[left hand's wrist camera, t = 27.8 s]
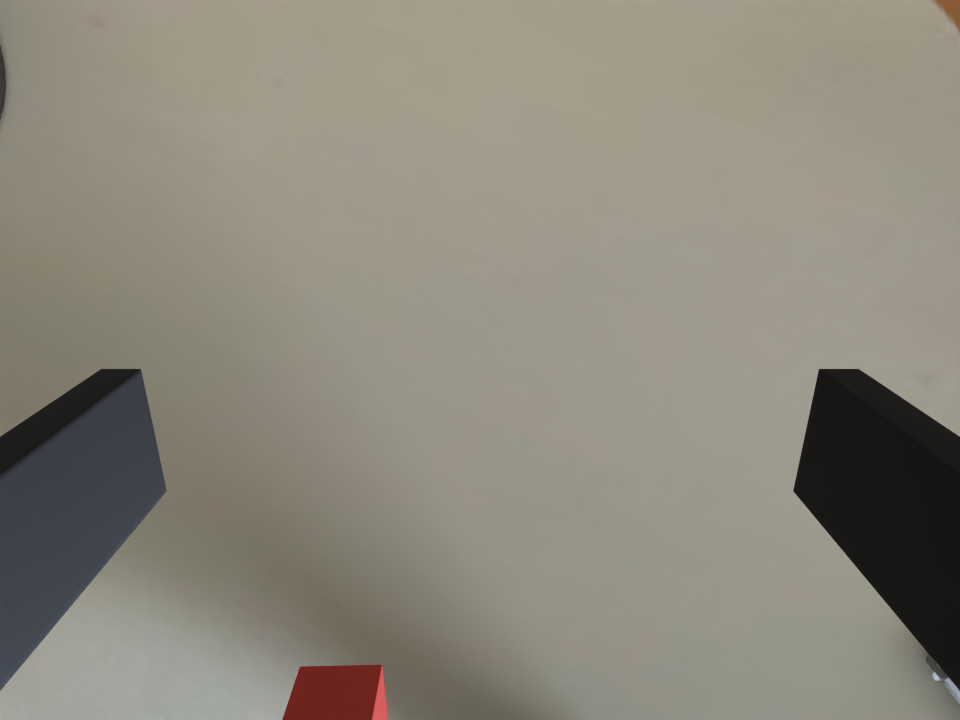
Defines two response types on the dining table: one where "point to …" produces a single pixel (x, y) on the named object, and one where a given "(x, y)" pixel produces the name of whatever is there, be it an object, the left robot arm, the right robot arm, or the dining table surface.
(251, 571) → the dining table surface
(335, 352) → the dining table surface
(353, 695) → the block
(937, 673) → the pistol
